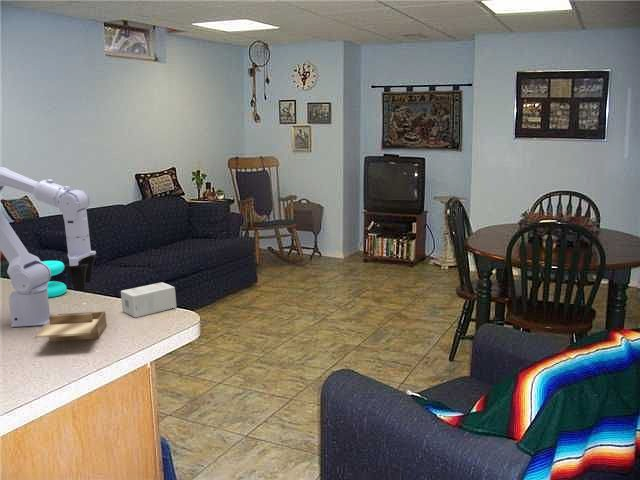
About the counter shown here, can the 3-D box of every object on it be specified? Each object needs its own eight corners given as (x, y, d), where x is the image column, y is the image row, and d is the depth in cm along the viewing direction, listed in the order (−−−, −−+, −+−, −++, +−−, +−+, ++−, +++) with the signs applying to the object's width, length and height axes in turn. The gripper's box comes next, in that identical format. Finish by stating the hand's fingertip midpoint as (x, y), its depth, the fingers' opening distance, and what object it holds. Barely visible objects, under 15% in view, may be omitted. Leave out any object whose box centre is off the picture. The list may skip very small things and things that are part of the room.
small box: (134, 318, 184) (177, 308, 192) (132, 296, 183) (175, 286, 191) (122, 312, 190) (164, 302, 199) (120, 290, 189) (162, 281, 197)
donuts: (22, 265, 206) (47, 258, 215) (25, 297, 208) (50, 288, 217) (46, 268, 202) (71, 261, 210) (49, 300, 204) (74, 291, 212)
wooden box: (49, 341, 167) (47, 326, 167) (59, 328, 177) (58, 313, 176) (98, 338, 169) (97, 323, 168) (106, 325, 178) (105, 311, 178)
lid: (35, 337, 157) (34, 327, 157) (47, 323, 168) (46, 314, 167) (89, 334, 159) (88, 324, 158) (98, 320, 169) (97, 311, 168)
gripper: (87, 240, 169) (93, 292, 172) (99, 230, 183) (104, 278, 186) (58, 242, 168) (64, 294, 171) (72, 231, 183) (78, 280, 185)
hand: (83, 286), depth 179 cm, fingers open, 7 cm apart
